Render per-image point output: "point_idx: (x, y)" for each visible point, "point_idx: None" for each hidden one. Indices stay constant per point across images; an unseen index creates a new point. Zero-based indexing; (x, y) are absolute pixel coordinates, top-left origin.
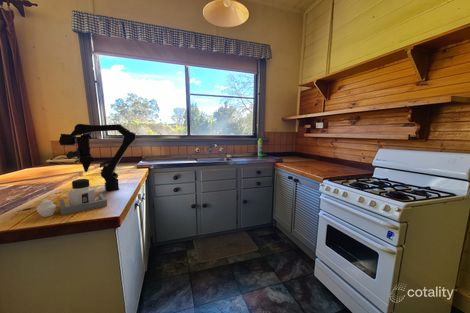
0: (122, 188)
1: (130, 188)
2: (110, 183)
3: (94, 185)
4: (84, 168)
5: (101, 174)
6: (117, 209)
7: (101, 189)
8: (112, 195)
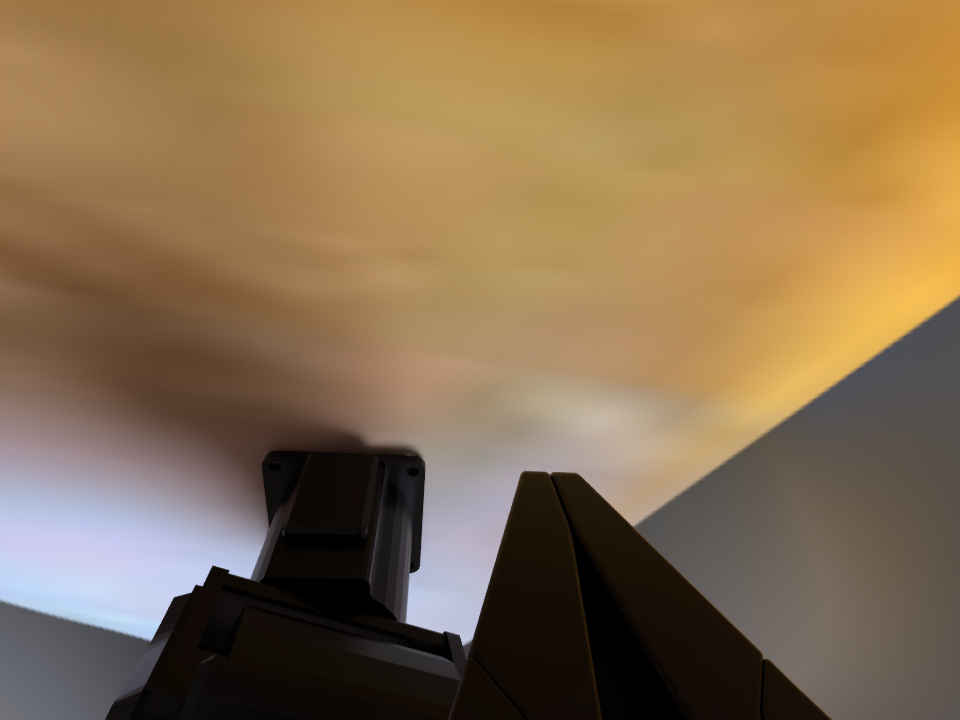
0: None
1: None
2: (253, 575)
3: (780, 389)
4: (489, 591)
5: (195, 673)
6: None
7: (455, 416)
8: (22, 455)
